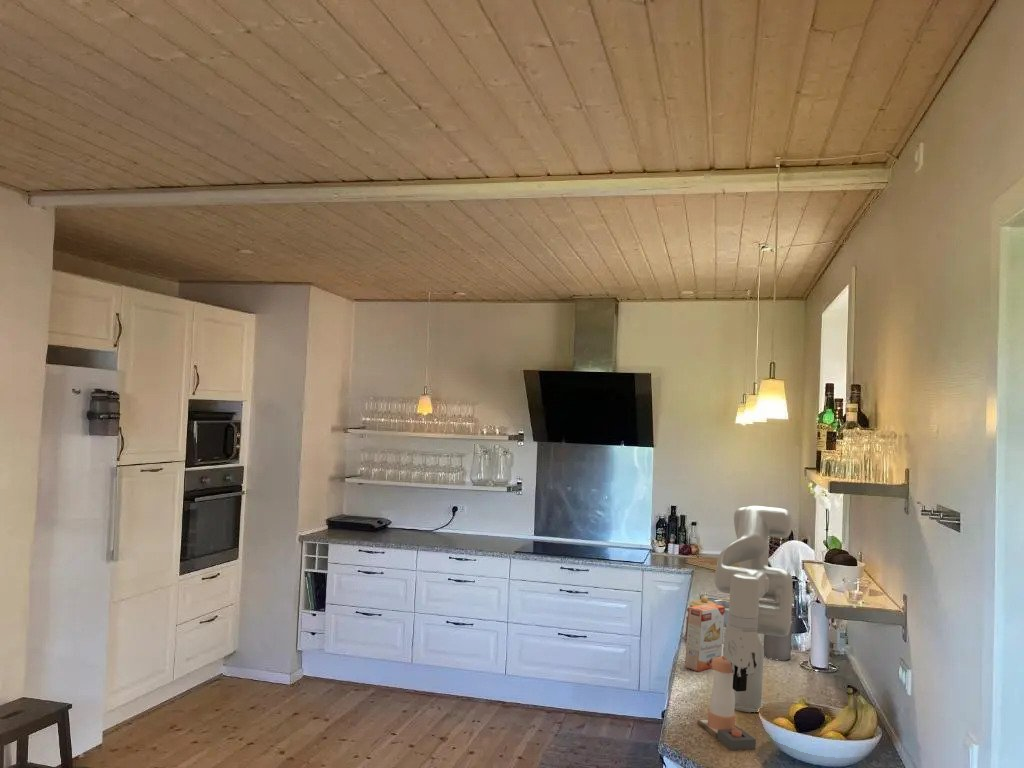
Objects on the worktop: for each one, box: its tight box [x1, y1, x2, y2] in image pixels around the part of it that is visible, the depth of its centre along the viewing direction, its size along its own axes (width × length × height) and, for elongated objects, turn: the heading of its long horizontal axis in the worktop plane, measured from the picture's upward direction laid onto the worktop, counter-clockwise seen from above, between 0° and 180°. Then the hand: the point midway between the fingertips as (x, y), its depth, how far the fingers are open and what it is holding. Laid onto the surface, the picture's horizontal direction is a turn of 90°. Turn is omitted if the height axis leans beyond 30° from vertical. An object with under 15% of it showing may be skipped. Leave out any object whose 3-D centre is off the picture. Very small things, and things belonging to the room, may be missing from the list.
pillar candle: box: [763, 620, 793, 661], centre depth 286 cm, size 10×10×15 cm
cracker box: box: [684, 603, 726, 672], centre depth 268 cm, size 14×6×21 cm, turn 131°
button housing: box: [716, 727, 757, 751], centre depth 203 cm, size 7×7×2 cm
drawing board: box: [696, 718, 739, 739], centre depth 212 cm, size 10×9×1 cm
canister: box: [684, 595, 716, 642], centre depth 299 cm, size 13×13×18 cm
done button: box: [731, 729, 742, 737], centre depth 204 cm, size 3×3×2 cm
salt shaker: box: [707, 655, 736, 730], centre depth 213 cm, size 7×7×19 cm
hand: (739, 689), depth 205 cm, fingers closed
